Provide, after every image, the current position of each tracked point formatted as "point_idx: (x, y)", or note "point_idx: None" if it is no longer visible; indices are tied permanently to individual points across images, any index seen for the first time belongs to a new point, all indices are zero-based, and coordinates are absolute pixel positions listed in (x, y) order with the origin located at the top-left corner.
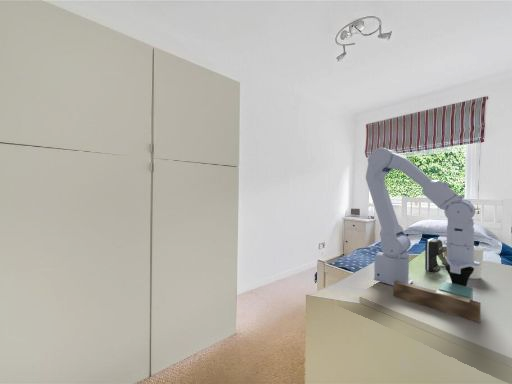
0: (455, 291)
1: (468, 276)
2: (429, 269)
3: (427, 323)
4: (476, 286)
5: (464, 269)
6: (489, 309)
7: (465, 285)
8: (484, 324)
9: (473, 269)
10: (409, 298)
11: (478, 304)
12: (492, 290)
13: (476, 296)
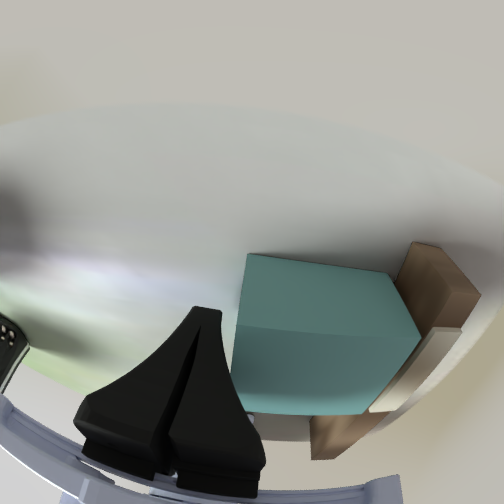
0: (367, 381)
1: (249, 422)
2: (24, 344)
3: (466, 351)
4: (12, 223)
5: (192, 463)
6: (259, 186)
7: (223, 353)
8: (447, 233)
9: (144, 443)
10: None
11: (471, 298)
12: (7, 172)
13: (111, 228)
